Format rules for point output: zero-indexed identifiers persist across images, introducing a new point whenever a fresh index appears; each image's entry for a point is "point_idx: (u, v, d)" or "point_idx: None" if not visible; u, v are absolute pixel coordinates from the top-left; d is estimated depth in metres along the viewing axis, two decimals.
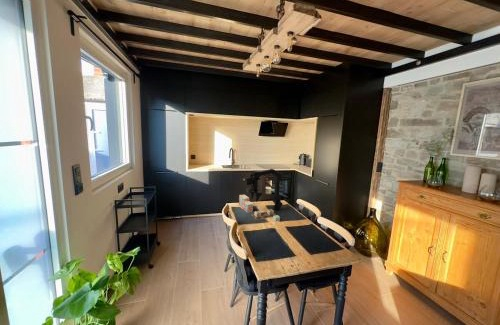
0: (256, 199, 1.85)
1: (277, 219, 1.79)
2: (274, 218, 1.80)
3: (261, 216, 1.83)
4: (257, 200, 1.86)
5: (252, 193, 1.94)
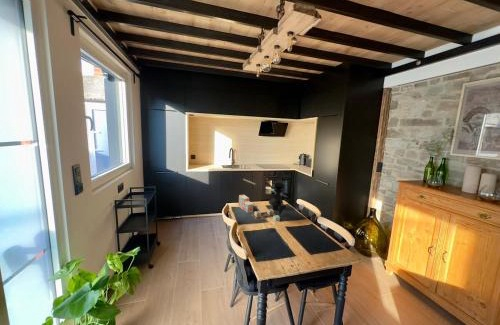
0: (279, 212, 1.75)
1: (277, 219, 1.79)
2: (274, 218, 1.80)
3: (261, 216, 1.83)
4: (280, 213, 1.76)
5: (274, 205, 1.84)
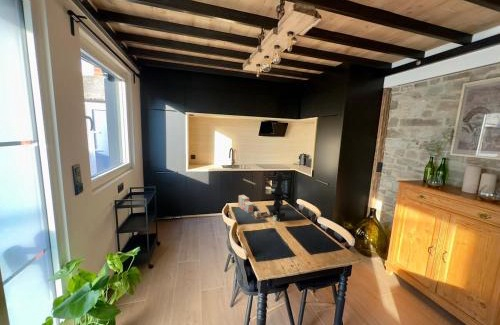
0: (277, 218, 1.78)
1: None
2: (274, 218, 1.80)
3: (261, 216, 1.83)
4: (278, 219, 1.79)
5: (275, 213, 1.83)
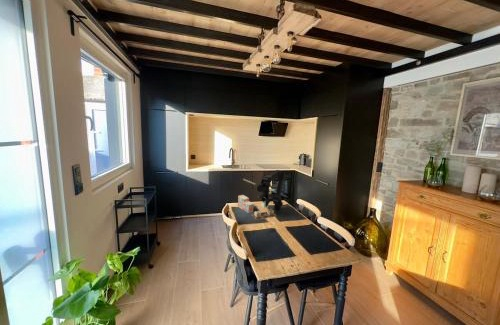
0: (266, 204, 1.84)
1: None
2: (263, 204, 1.86)
3: (261, 216, 1.83)
4: (267, 205, 1.85)
5: (264, 199, 1.89)
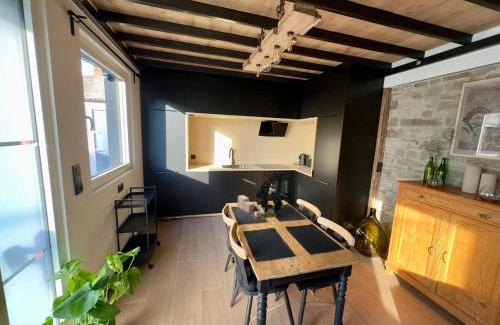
0: (265, 211, 1.85)
1: None
2: (262, 210, 1.87)
3: (261, 216, 1.83)
4: (266, 211, 1.86)
5: (263, 206, 1.90)
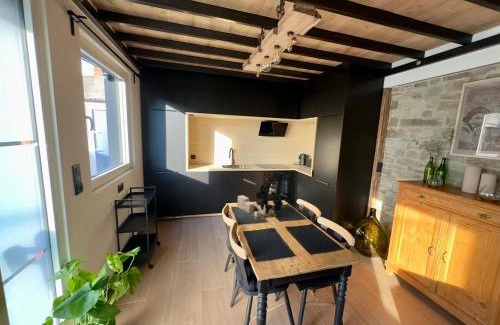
0: (266, 211, 1.84)
1: (265, 213, 1.87)
2: (262, 213, 1.87)
3: (261, 216, 1.83)
4: (267, 212, 1.85)
5: (262, 205, 1.92)
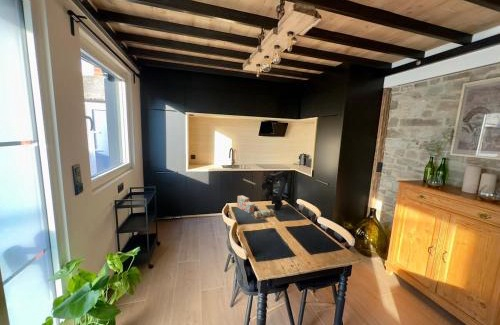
0: (272, 202, 1.88)
1: (265, 213, 1.87)
2: (262, 213, 1.87)
3: (261, 216, 1.83)
4: (273, 203, 1.90)
5: (267, 196, 1.97)
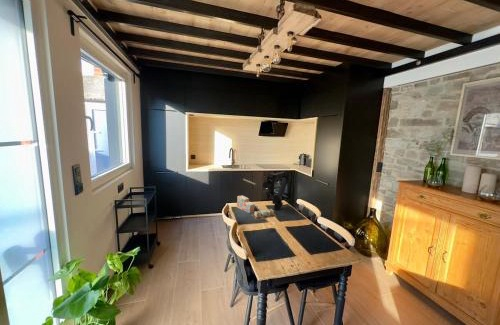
0: (273, 201, 1.89)
1: (265, 213, 1.87)
2: (262, 213, 1.87)
3: (261, 216, 1.83)
4: (274, 202, 1.90)
5: (268, 195, 1.98)
